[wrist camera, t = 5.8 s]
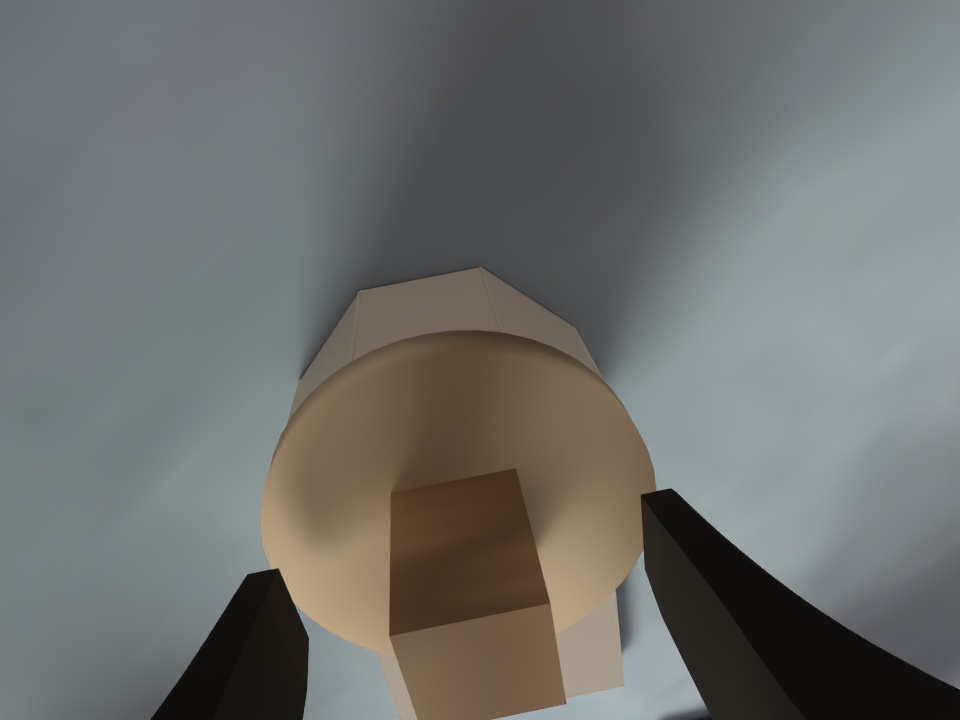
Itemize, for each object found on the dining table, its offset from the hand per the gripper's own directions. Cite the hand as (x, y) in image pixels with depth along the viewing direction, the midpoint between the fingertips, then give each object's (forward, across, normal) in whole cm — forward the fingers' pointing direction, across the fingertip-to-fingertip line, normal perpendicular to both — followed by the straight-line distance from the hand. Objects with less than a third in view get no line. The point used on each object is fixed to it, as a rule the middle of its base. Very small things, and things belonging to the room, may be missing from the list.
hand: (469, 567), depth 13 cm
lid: (+2, 0, 0) cm, 2 cm away
